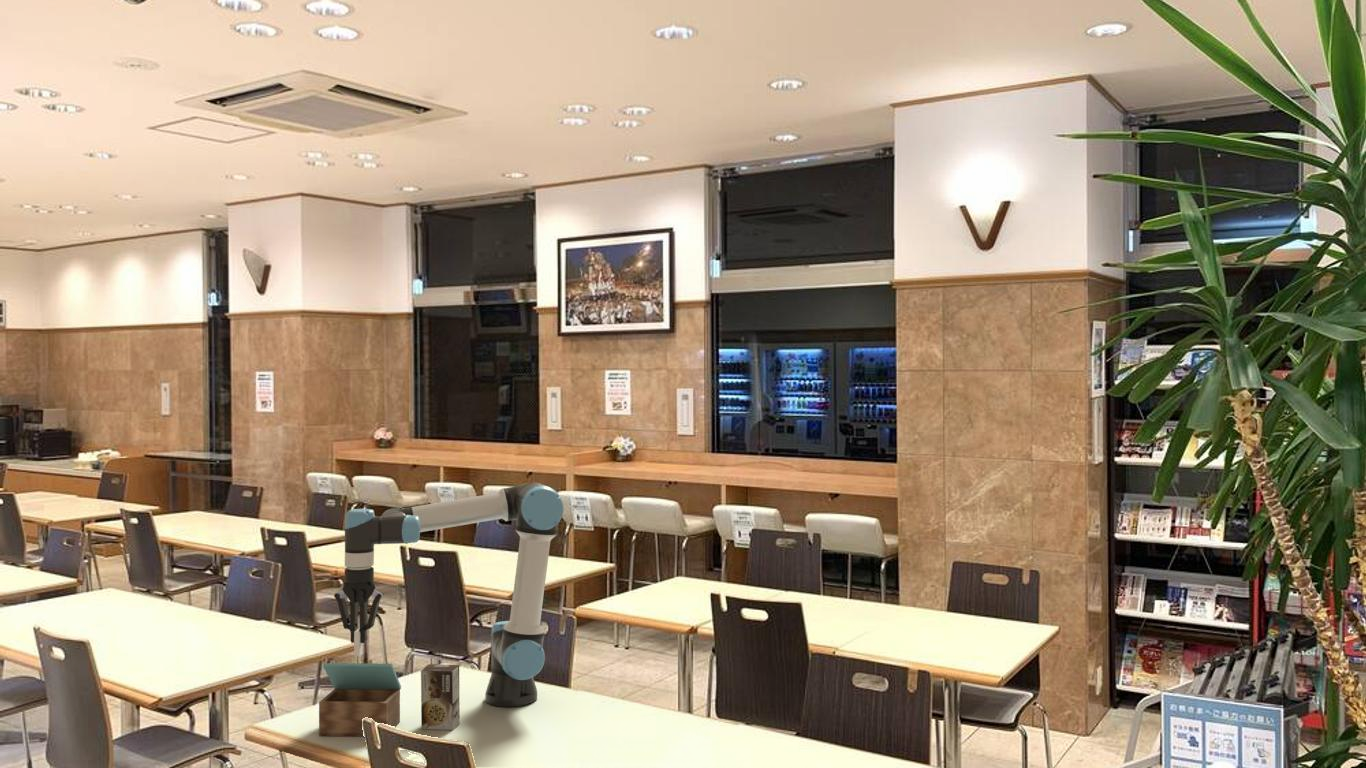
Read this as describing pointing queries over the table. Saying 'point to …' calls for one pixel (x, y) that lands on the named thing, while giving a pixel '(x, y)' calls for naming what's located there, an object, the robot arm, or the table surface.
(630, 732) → the table surface
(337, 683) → the lid
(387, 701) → the box
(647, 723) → the table surface
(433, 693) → the coffee box
